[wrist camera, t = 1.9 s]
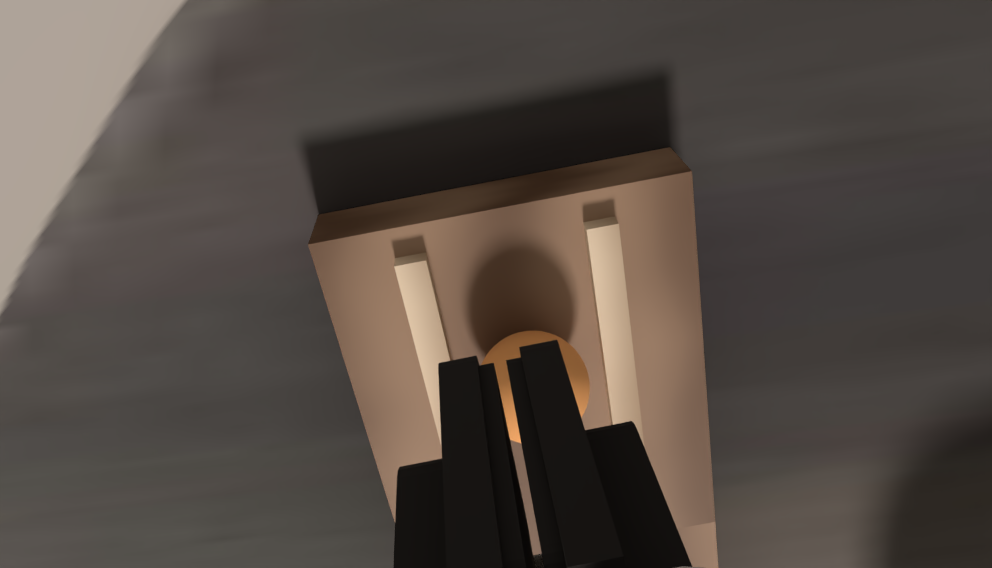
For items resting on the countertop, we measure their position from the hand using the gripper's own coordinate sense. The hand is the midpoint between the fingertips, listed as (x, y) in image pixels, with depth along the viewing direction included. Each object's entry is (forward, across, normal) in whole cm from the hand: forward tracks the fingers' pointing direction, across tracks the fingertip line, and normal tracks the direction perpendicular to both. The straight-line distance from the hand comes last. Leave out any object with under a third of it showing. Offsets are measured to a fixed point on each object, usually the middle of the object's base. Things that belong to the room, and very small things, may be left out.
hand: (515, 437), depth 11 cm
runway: (+16, -1, +14) cm, 22 cm away
